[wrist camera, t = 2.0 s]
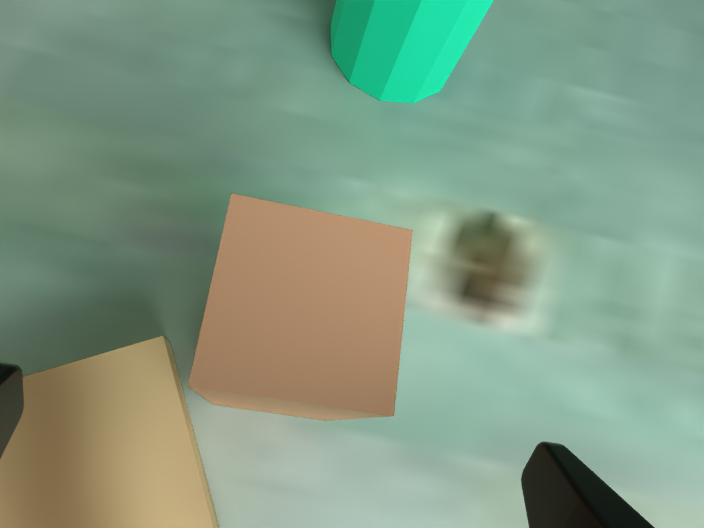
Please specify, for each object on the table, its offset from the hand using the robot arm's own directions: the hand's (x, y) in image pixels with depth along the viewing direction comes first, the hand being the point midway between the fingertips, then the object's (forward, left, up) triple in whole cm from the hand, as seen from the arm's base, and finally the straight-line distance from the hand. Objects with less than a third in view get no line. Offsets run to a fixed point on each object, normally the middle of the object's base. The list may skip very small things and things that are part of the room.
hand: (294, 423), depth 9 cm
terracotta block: (+1, +2, -10) cm, 10 cm away
